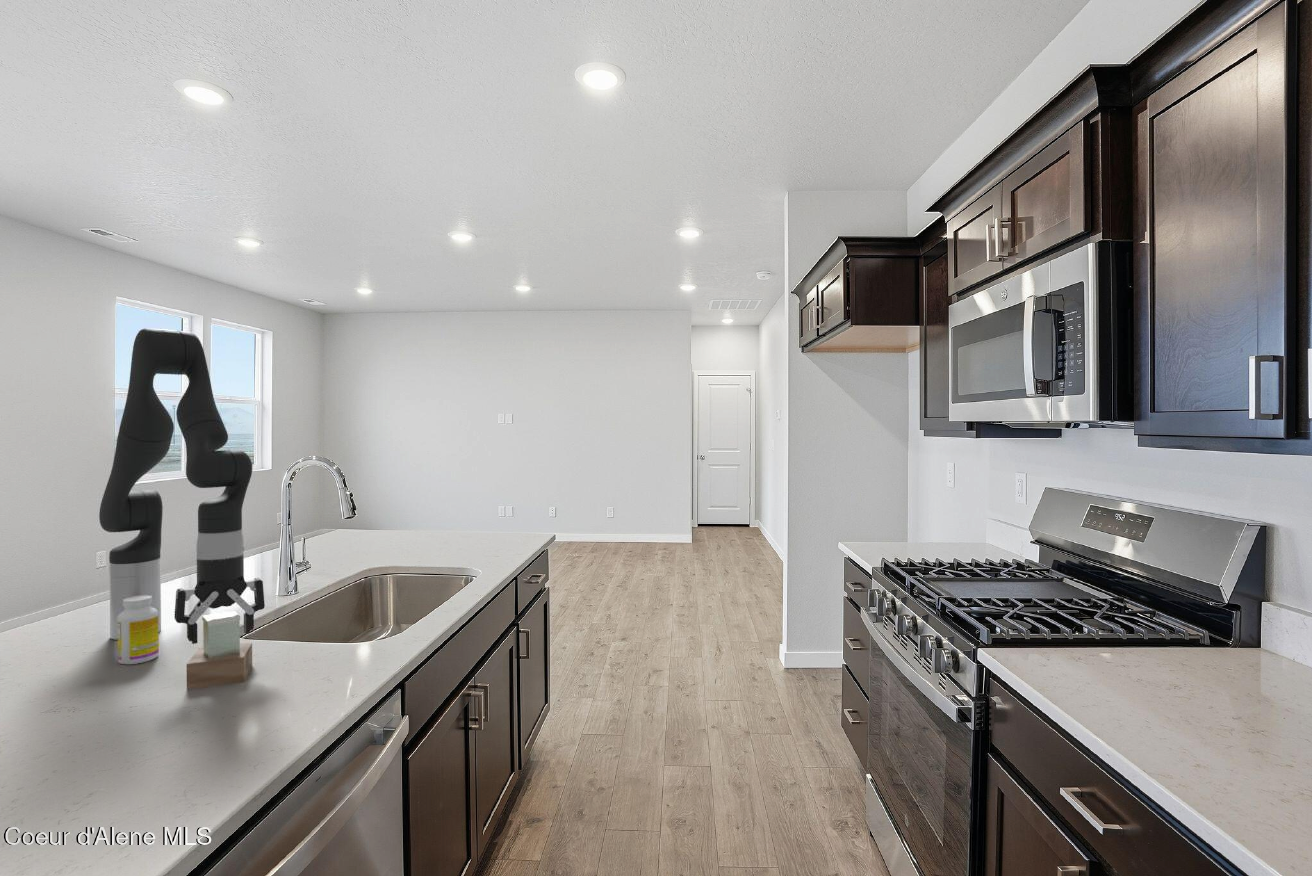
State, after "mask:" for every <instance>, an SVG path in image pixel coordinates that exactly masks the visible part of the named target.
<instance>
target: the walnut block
mask: <svg viewBox="0 0 1312 876" xmlns="http://www.w3.org/2000/svg"><path fill="white" fill-rule="evenodd" d="M252 667H253V642H244V643H240V653H237V654H232V655H227V656H222V657H218V658H213V659H208V658H207V656H206V655H205V654H204V648H203V647H200V648H198V649H197V650H196V652H195V653H194V654H193V655H192V656H191V658H190V659H189V660H188V662H186V690H192V689H200V688H208V687H217V686H224V685H231V684H238V683H239V684H240V683H244V682H246V679H247V677H248V675H249V674H250V671H251V670H252Z"/></svg>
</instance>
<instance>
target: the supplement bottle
mask: <svg viewBox="0 0 1312 876" xmlns="http://www.w3.org/2000/svg"><path fill="white" fill-rule="evenodd" d="M151 602H152V596H149V595H142V596H134V597H129V598H126V599H124V600H123V606H124V608H125V610H124V611H123V612H121V613H120V614H119V615H118V617H117V633H118V640H117V661H118V663H119V664H120V665H137V664H138V663H139V664H144V663H147V662H149V661H153V660H154V659H156V658H157V657H158V656H159V655H160V648H159V647H160V646H159V645H160V643H159V642H160V639H159V638H160V637H159V636H160V635H159V632H158V611H157V609H155V608H153V607H151Z"/></svg>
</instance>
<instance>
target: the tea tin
mask: <svg viewBox="0 0 1312 876" xmlns="http://www.w3.org/2000/svg"><path fill="white" fill-rule="evenodd" d="M240 621H241V616H240V615H239V614H238V613H237V612H236V611H235V610H231V611H230V610H229V611H225V612H220V613H212V614H207V615H202V622H203V623H202V625H203V626H202V627H203V631H202V633H203V636H202V637H203V646H202V648H204V654H205V655H206V656H207V658H208V659H213V658H218V657H222V656H227V655H232V654H237V653H240V644H241V643H240V641H241V640H240V638H241V637H240V635H241V634H240V628H241V627H240V626H241V625H240V623H241V622H240Z"/></svg>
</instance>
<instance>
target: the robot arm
mask: <svg viewBox="0 0 1312 876" xmlns="http://www.w3.org/2000/svg"><path fill="white" fill-rule="evenodd" d="M132 346H133V347H132V353H131V362H130V372H129V381H128V390H127V395H126V401H125V404H124V409H123V412H122V417H121V420H120V424H119V428H118V434H117V438H116V446H115V452H114V456H113V463H112V467H111V471H110V474H109V478H108V480H107V483H106V486H105V489H104V492H103V495H102V499H101V502H100V506H99V512H98V513H99V515H98V517H99V524H100V527H101V528H102V529H103V530H104V531H105V532H107V533H124V532H125V533H127V532H134V531H135V532H136V531H139V532H138V535H136V536H135V537H134V538H133V539H131V540H129V541H127V542H125V543H124V544H121V545H118V546H116V547H113V548H112V549H111V550H110V551H109V554H108V555H109V559H108V561H109V563H108V565H109V571H108V572H109V638H110V639H111V640H115V641H116V640H117V641H118V633H117V617H118V615H119V614H120V613H121V612H123V611H124V610H125V608H124V606H123V600H124V599H126V598H129V597H134V596H142V595H149V596H152V602H151V607H153V608H155V609H157V611H158V633H159V632H161V631H162V593H161V592H162V589H161V588H162V587H161V586H162V581H161V580H162V579H161V578H162V577H161V575H162V574H161V548H162V527H163V525H162V523H163V509H164V507H163V500H162V496H161V494H160V493H159V492H158V491H157V490H155V489H141V490H132V489H133V487H134V486H135V484H136V483H137V482H138V481H139V480H140V479H141V478H142V477H144V475H146V474H147V473H149V472H150V471H151V470H152V469H153V468H155V467H156V466H157V465H158V464H159V463H160V462H161V461H162V460H163V459H164V458H165V457H166V455H167V454H168V452H169V451H170V448H171V447H170V446H171V442H172V438H173V434H174V432H175V431H174V430H175V425H174V421H173V418H172V417H171V415H170V413H169V411H168V410H167V408H166V407H165V406H164V404H163V403H162V401H161V400H160V398H159V396H158V395H157V393H156V389H155V387H154V380H155V379H154V378H155V376H156V375H158V374H159V375H177V376H180V375H182V376H184V375H185V376H186V377H187V380H188V386H187V387H186V390H185V391H184V393H183V394H182V396H181V398H180V400H179V402H178V404H177V408H176V415H175V416H176V420H177V424H178V427H179V429H180V432H181V434H182V437H183V439H184V442H185V443H184V444H185V450H186V461H185V462H186V463H185V476H186V478H187V480H188V482H189V483H190V484H192V486H194V487H196V488H198V489H199V488H200V489H210V488H211V489H212V488H224V490H223V492H222V494H220V495H219V496H218V497H215V498H213V499H208V500H205V501H203V502H201V503H200V504H199V506H198V509H197V532H198V533H197V540H196V585H195V587H194V588H187V589H183V588H180V587H179V588H177V589H176V592H175V604H174V605H175V606H174V620H175V622H176V623H177V624H186V638H187V640H188V641H189V642H191V643H192V645H196V644H198V623H197V621H198V620H199V619H200V617H201V616H203V614H205V612H206V611H207V609H208V608H209V609H212V610H213V609H219V608H221V607H231V606H232V605H235V603H236V604H237V605H238V606H239V607H240V608H241V609H242V610H243V611H244V613H243V632H244V634H245V635H248V634H251V631H253V630H254V627H255V619H254V618H255V616H254V615H255V613H257V612H258V611H262V610H264V609H265V606H266V605H265V592H264V582H263V580H262V579H260V578H259V577H255V578H253V579H252V580H246V581H245V572H244V571H245V566H244V565H245V563H244V561H245V558H244V556H245V555H244V554H245V553H244V552H245V545H244V535H243V529H242V528H243V516H242V515H243V505H244V503H245V498H246V494H247V490H248V487H249V483H250V481H251V477H252V474H253V462H252V460H251V458H250V456H249V455H248V454H247V453H246V452H245V451H243V450H239V449H237V450H236V449H234V450H233V449H232V450H219V449H221V448H224V446H225V445H226V444H227V443H228V441H229V435H228V431H227V428H226V426H225V423H224V422H223V419H222V416H221V414H220V412H219V410H218V407H217V404H216V401H215V398H214V397H215V396H214V394H213V393H214V392H213V387H212V383H211V382H212V381H211V377H210V373H209V368H208V363H207V358H206V355H205V350H204V347H203V344H202V343H201V340H200V338H199V337H198V336H197V335H196V334H194V333H193V332H189V331H183V330H175V329H164V328H163V329H162V328H152V327H151V328H149V327H147V328H142V329H140V330H139V331H138V332H137V334H136V336H135V338H134V342H133V345H132ZM247 588H249V590H250V591H252V592H253V595H254V603H253V604H251V605H250V604H249V603H248V602H247V601H245V599H243V598H242V597H241V596H242V594H243V593H244V592H245V590H246V589H247ZM193 595H194V596H195V597H196V598H197V599H198V601H197V603H196V604H195V605H194V607H193V609H192V610H191V611H190V612H189V614H188V615H187V614H185V611H186V609H185V608H186V602H187V601H190V599H191V597H192V596H193Z"/></svg>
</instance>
